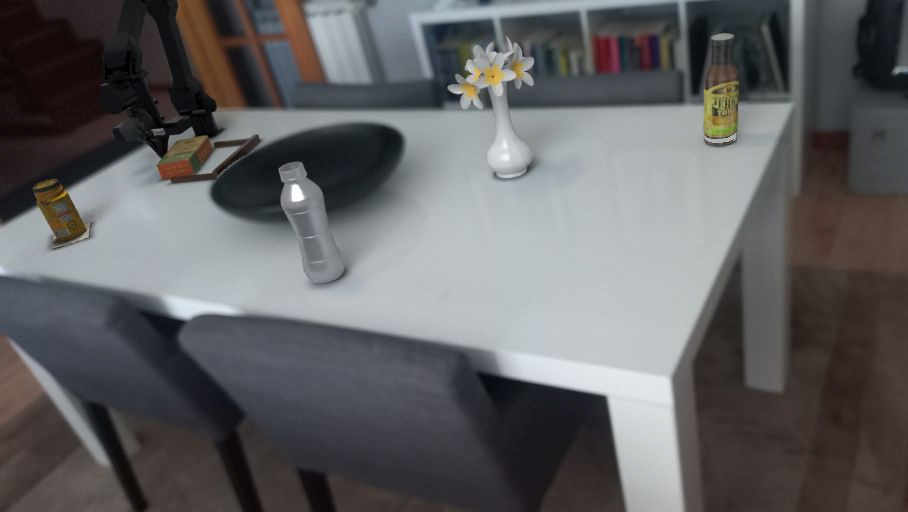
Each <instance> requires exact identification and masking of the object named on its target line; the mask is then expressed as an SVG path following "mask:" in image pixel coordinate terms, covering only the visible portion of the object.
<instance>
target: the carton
mask: <svg viewBox="0 0 908 512" xmlns="http://www.w3.org/2000/svg"><path fill="white" fill-rule="evenodd" d="M193 137H194V136H193ZM213 150H214V148H213V145H212V143H211V141H210V138H208V136H199V137H194V138H192V137H188V138H182V139H179V140H176V141H175V142H174V144H173V145H172V146H171V147H170V149H168V152H167V153H166V154H165V155H164V157H163V158H162V159H161V158H160V160H159V161H158V162H157V163H155V164H156V165H155V166H156V169H157V171H158V174H159V176H160V179H161V180H168V179H169V180H170V179H171V178H172V177H176V176H187V175H196V173H197V172H198V171H199V169H200V168H201V167H202V165H203V164H204V162H205V161H206V159H207V158H208V156H209V155H210V154H211V153H212V151H213Z"/></svg>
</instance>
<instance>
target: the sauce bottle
mask: <svg viewBox="0 0 908 512" xmlns="http://www.w3.org/2000/svg"><path fill="white" fill-rule="evenodd" d="M734 45H735V35H734V34H732V33H725V32H724V33H717V34H713V35H712V36H711V37H710V47H711V56H710V57H711V58H710V64H709V66H708V68H707V69H706V71H705V74H704V87H703V121H702V122H703V125H702V126H703V127H702V129H703V131H702V132H703V136H704V135H705V136H706V137H707V138H710V139H723V138H728V137H730V136H732V135H734V134H735V133H736V134H737V132H738V122H739V97H740V96H739V94H740V93H739V92H740V81H739V79H740V78H739V76H740V74H739V71H738V67H736V64H735V63H734ZM733 140H734V139H733ZM733 140H731V141H729V142H723V143H712V142H708V141H706V140H705V139H704V138H703V141H704V142H705V144H707V145H710V146H715V147H716V146H717V147H724V146H729V145H730V144H733V143H735V142H736V141H733Z"/></svg>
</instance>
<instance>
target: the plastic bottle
mask: <svg viewBox="0 0 908 512" xmlns="http://www.w3.org/2000/svg"><path fill="white" fill-rule="evenodd" d="M278 173H279V176H280V181H281V182H282V183H283V188H282V190H281V194H280V205H281V208H282V210H283V212H284V214H285V216H286V217H287V220H288V222H289V223H290V225H291V227H292V230H293V233H294V234H295V238H296V240H297V242H298V247H299V252H300V256H301V264H302V268H303V272H304V274H305V276H306V277H307V279H308V280H309V281H311V282H312V283H314V284H327V283H330V282H333V281H335V280H338V279H339V278H340V277H341V276H342V275H343V274H344V270H345V269H346V268H345V267H346V265H345V258H344V256H343V254H342V252H341V250H340V248H339V246H338V245H337V243H336V240H335V238H334V235H333V232H332V231H331V227H330V224H329V219H328V215H327V209H326V203H325V196H324V193H323V190H322V189H321V188H320V186H319V185H318V184H316V182H314V181H313V180H311V179H309V178H308V177H307V176H308V173H307V170H306V169H305V166H304V164H303V162H301V161H293V162H288V163H285V164H283V165H281V166H280V167H279V168H278Z"/></svg>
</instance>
